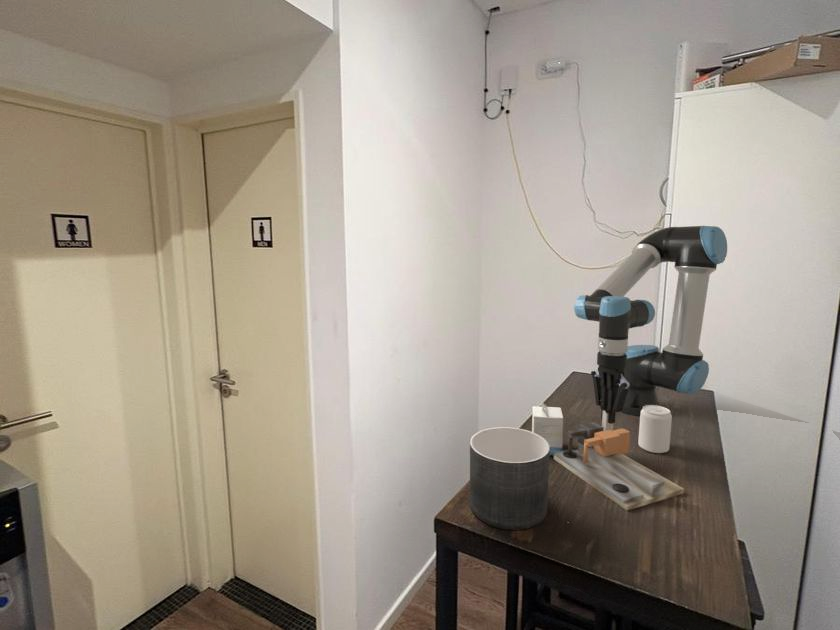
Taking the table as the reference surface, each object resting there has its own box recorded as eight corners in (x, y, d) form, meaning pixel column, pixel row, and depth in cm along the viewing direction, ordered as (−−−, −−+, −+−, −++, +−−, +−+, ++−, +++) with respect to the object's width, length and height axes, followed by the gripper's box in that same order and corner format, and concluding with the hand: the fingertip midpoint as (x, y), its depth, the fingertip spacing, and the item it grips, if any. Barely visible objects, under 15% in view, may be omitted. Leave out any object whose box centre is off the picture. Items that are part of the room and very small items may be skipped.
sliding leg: (619, 449, 124) (621, 427, 123) (631, 455, 120) (632, 432, 119) (578, 459, 119) (579, 436, 118) (589, 466, 115) (590, 442, 114)
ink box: (562, 457, 126) (564, 412, 124) (532, 454, 128) (533, 410, 126) (559, 443, 134) (561, 401, 132) (531, 441, 136) (532, 399, 134)
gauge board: (603, 447, 131) (605, 417, 130) (683, 493, 107) (686, 457, 106) (553, 459, 125) (555, 427, 123) (626, 510, 101) (629, 472, 99)
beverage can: (634, 448, 130) (637, 410, 128) (643, 439, 136) (645, 402, 134) (664, 457, 125) (668, 417, 123) (672, 447, 131) (675, 409, 129)
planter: (466, 485, 113) (467, 427, 110) (537, 485, 112) (539, 426, 109) (473, 530, 95) (473, 463, 92) (556, 531, 94) (559, 463, 92)
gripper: (584, 348, 127) (580, 425, 131) (619, 359, 115) (614, 444, 119) (605, 345, 130) (600, 421, 134) (641, 356, 118) (635, 439, 122)
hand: (607, 432), depth 127 cm, fingers closed
